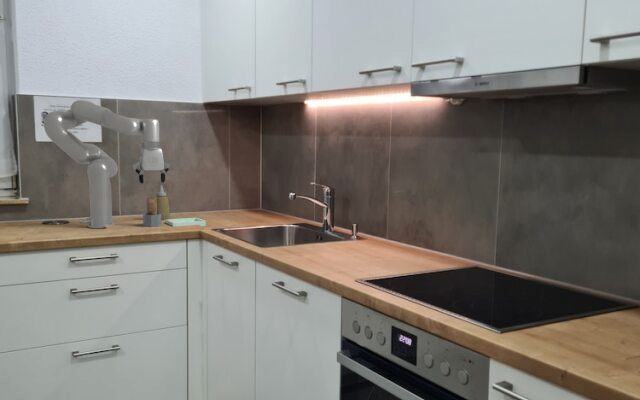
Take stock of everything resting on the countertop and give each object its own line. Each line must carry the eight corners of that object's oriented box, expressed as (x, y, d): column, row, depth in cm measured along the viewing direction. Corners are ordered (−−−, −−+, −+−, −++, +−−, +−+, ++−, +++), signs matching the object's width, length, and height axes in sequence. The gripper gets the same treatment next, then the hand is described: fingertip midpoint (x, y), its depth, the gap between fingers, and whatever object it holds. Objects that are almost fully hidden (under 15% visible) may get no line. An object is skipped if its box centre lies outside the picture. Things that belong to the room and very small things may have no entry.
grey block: (145, 229, 266) (145, 215, 265) (140, 227, 273) (140, 213, 272) (163, 228, 270) (163, 214, 270) (158, 225, 277) (158, 212, 277)
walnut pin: (148, 226, 268) (148, 198, 267) (146, 225, 272) (145, 197, 271) (158, 225, 271) (157, 198, 269) (155, 224, 274) (155, 197, 273)
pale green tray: (173, 228, 271) (173, 223, 270) (165, 224, 281) (165, 219, 281) (205, 225, 279) (205, 220, 279) (196, 222, 289) (196, 217, 289)
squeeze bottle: (172, 220, 296) (171, 184, 294) (166, 222, 288) (166, 186, 286) (156, 219, 297) (156, 184, 295) (150, 221, 289) (150, 185, 287)
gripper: (134, 146, 260) (135, 184, 261) (172, 145, 269) (173, 182, 271) (130, 145, 266) (131, 183, 268) (167, 145, 275) (168, 181, 277)
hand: (152, 182), depth 269 cm, fingers open, 9 cm apart
